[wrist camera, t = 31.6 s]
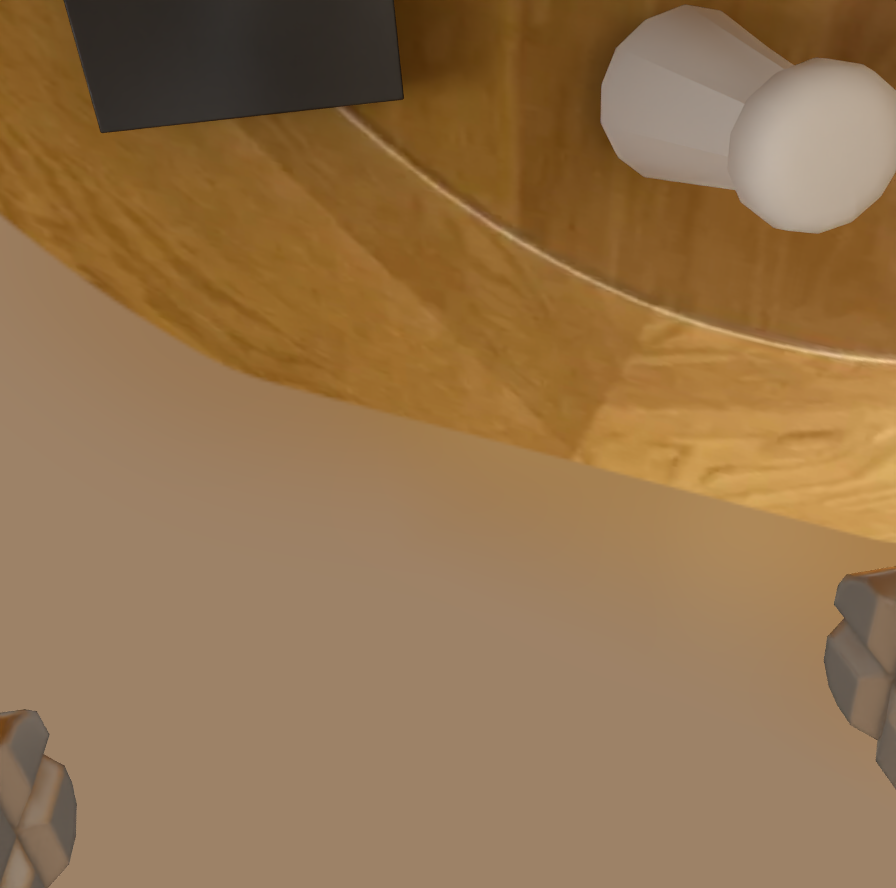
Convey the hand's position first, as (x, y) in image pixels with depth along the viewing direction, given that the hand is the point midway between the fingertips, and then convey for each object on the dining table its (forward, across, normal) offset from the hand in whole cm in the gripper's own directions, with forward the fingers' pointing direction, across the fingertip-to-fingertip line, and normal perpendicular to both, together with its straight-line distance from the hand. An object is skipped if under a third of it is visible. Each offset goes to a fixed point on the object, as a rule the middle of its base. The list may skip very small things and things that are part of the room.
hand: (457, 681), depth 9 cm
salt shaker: (+27, +12, +1) cm, 30 cm away
